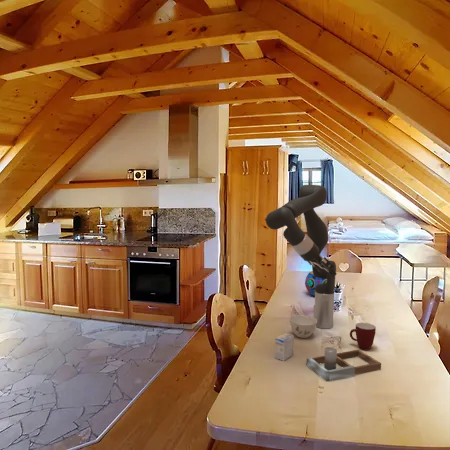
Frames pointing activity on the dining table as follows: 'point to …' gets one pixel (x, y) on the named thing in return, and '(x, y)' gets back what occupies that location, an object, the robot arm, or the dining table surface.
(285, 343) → the medicine box
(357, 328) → the mug
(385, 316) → the dining table surface
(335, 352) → the grey dome-topped cylinder
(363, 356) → the divider rack
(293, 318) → the teacup
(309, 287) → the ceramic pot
